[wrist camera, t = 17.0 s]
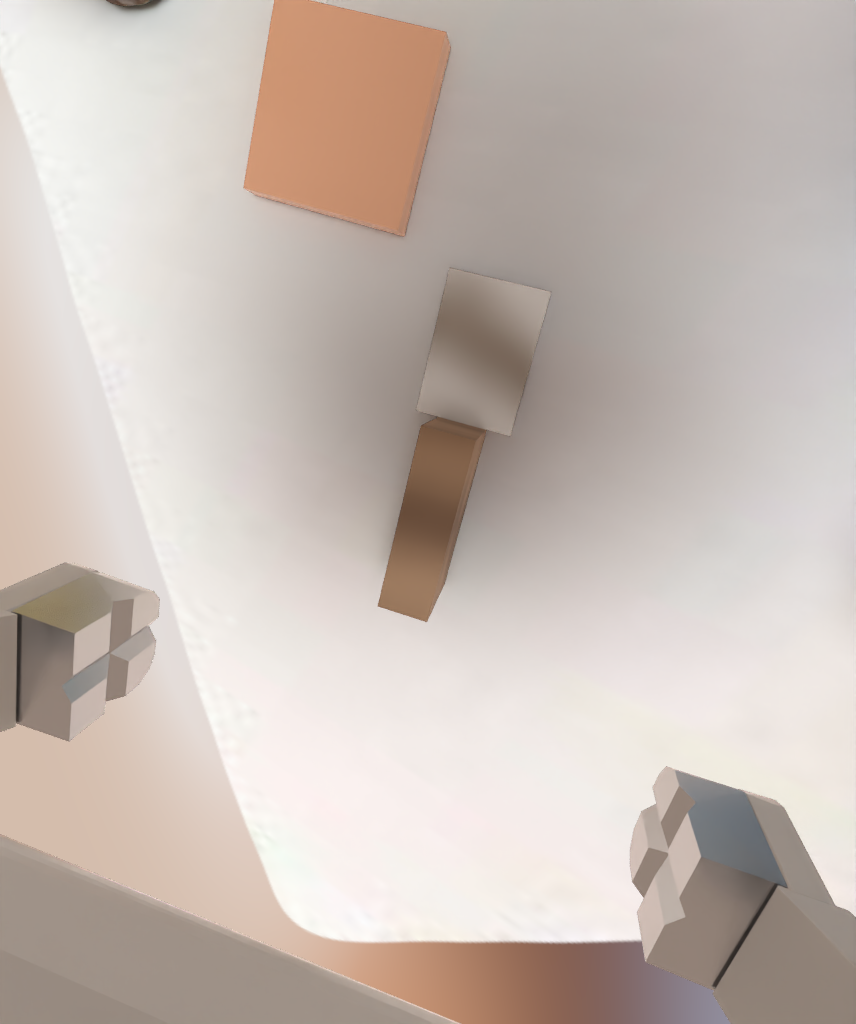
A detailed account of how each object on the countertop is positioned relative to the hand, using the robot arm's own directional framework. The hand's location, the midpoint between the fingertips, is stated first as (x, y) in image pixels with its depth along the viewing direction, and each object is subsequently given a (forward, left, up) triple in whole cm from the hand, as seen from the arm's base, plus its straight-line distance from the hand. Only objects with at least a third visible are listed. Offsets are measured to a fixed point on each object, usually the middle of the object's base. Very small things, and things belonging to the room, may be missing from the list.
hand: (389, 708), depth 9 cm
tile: (-14, -11, -21) cm, 28 cm away
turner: (-1, -2, -22) cm, 22 cm away
